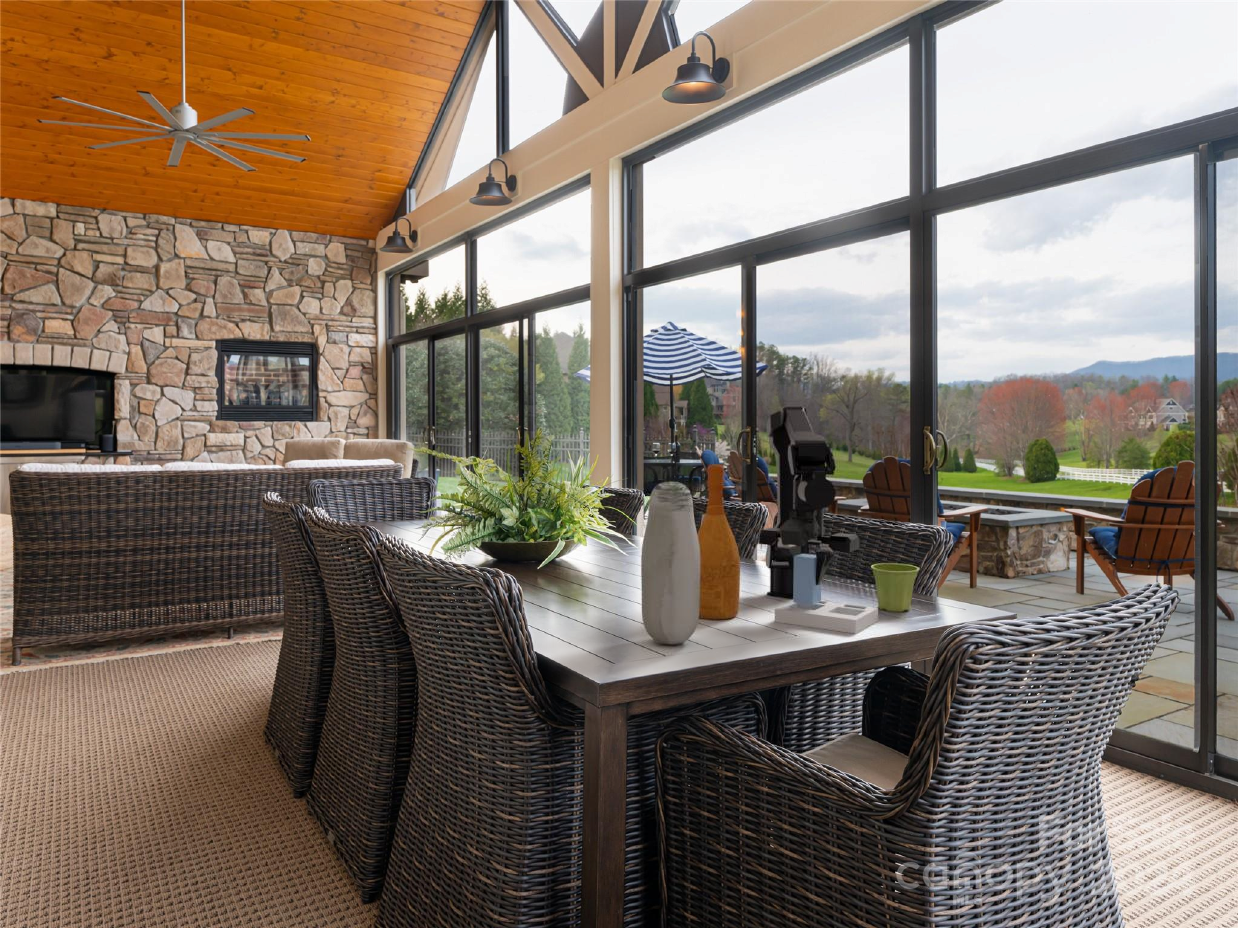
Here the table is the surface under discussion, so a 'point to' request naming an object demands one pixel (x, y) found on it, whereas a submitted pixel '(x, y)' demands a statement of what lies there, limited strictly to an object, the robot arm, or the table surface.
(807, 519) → the robot arm
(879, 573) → the plant pot
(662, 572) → the grey vase
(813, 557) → the plug
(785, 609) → the white socket block
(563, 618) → the table surface
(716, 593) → the wine bottle
